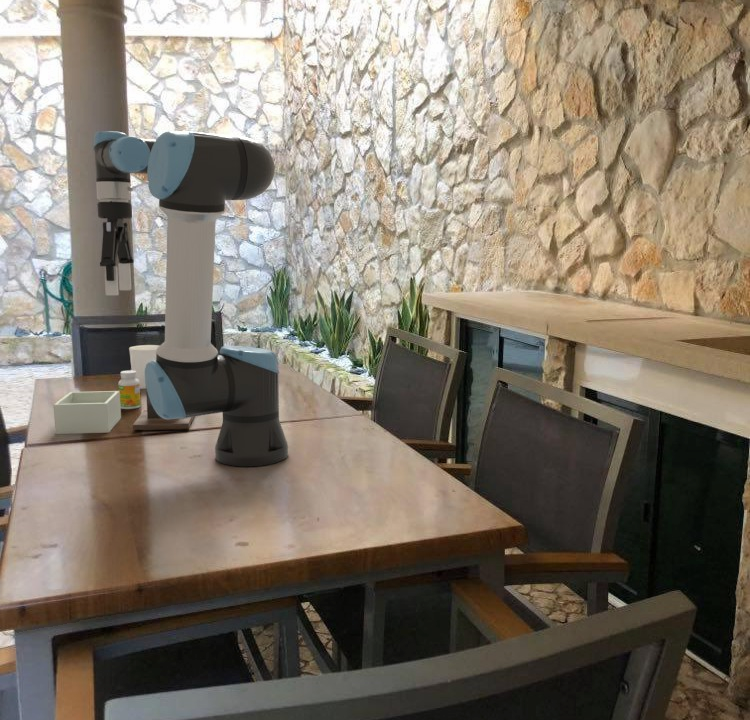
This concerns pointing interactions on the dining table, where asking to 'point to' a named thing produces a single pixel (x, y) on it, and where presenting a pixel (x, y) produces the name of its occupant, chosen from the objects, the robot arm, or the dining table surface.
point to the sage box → (87, 412)
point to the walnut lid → (158, 420)
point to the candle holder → (142, 360)
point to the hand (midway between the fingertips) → (119, 292)
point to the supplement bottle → (129, 390)
